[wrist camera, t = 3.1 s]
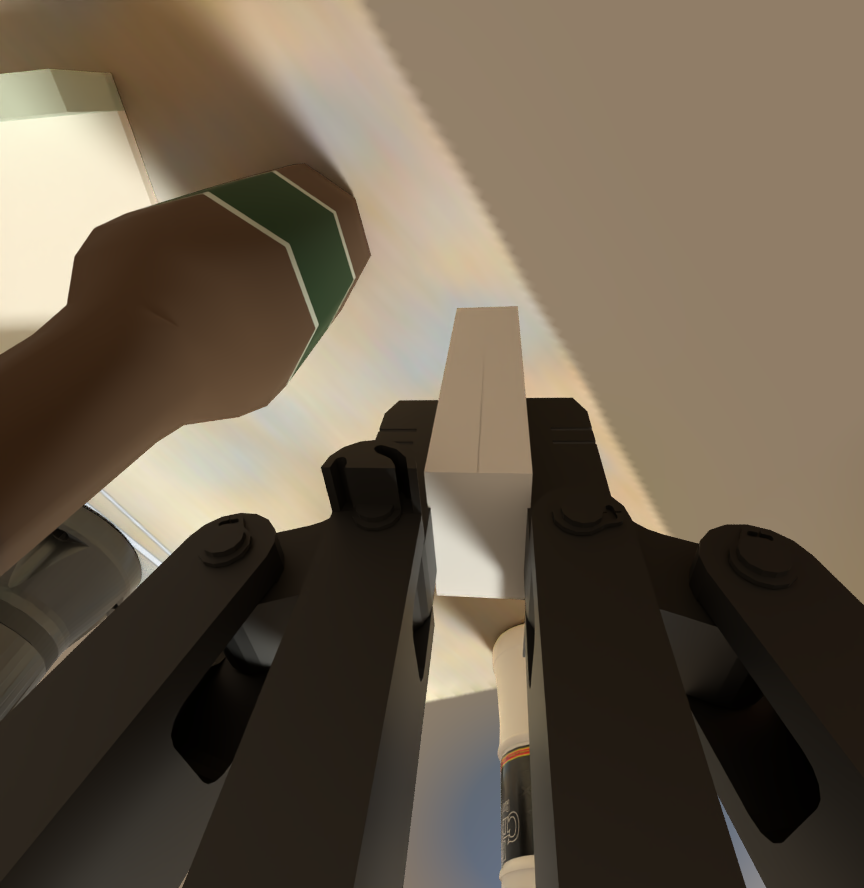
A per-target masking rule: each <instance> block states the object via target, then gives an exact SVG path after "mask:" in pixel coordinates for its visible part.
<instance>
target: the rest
mask: <svg viewBox="0 0 864 888" xmlns="http://www.w3.org/2000/svg"><path fill="white" fill-rule="evenodd" d="M155 204H158V202H157V199H156V196H155V194H154V191H153V188H152V185H151V182H150V180H149V177H148V174H147V171H146V169H145V166H144V163H143V160H142V157H141V155H140V152H139V149H138V146H137V143H136V141H135V138H134V135H133V132H132V130H131V127H130V124H129V121H128V118H127V116H126V113H125V110H124V107H123V105H122V102H121V99H120V96H119V93H118V91H117V88H116V85H115V82H114V80H113V77H112V74H111V73H102V72H89V71H75V70H62V69H41V70H32V71H23V72H14V73H5V74H0V354H2V353H4V352H5V351H7V350H8V349H10V348H12V347H13V346H15V345H17V344H18V343H20V342H21V341H23V340H25V339H26V338H28V337H30V336H31V335H33V334H34V333H35V332H36V331H37V330H38V329H40V328H41V327H42V326H43V325H44V324H45V323H46V322H48V321H49V320H50V319H51V318H52V317H53V316H54V315H56V314H57V313H58V312H59V311H60V310H61V309H62V308H64V307H65V306H66V305H67V299H68V293H69V287H70V281H71V274H72V268H73V262H74V256H75V255H76V253H77V252H78V251H79V249H80V248H81V246H82V245H83V243H84V242H85V240H86V239H87V237H88V236H89V235H90V233H91V232H92V230H93V229H94V228H95V227H97V226H100V225H102V224H104V223H106V222H108V221H110V220H112V219H115V218H117V217H119V216H121V215H123V214H125V213H128V212H131V211H135V210H138V209H141V208H145V207H148V206H151V205H155Z"/></svg>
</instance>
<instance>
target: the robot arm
mask: <svg viewBox="0 0 864 888" xmlns="http://www.w3.org/2000/svg"><path fill="white" fill-rule="evenodd" d="M321 469H322V473H323V477H324V481H325V485H326V489H327V492H328V496H329V500H330V504H331V508H332V514H331V517H330V518H329V519H327V520H325V521H323V522H320V523H317V524H314V525H310V526H306V527H302V528H297V529H292V530H288V531H283V532H278V533H276V531H275V529H274V527H273V526H272V524H271V523H270V521H269V520H268V519H266V518H264V517H262V516H260V515H257V514H248V513H238V514H234V515H229V516H224V517H221V518H219V519H217V520H214V521H212V522H210V523H208V524H206V525H204V526H203V527H201V528H200V529H199V530H197V531H196V532H195V533H193V534H192V535H191V536H190V537H189V538H188V539H186V540H185V541H184V542H183V543H182V544H181V545H180V546H179V547H178V548H177V549H176V550H175V551H174V552H173V553H172V554H171V555H170V556H169V557H168V558H167V559H166V560H165V561H164V562H163V563H162V564H161V565H160V566H159V567H158V568H157V569H156V570H155V571H154V572H153V573H152V574H151V575H150V576H149V577H148V578H147V579H146V580H145V581H144V582H143V583H141V584H140V585H139V583H140V581H141V575H142V572H141V566H140V562H139V559H138V557H137V555H136V553H135V552H134V550H133V549H132V547H131V546H130V544H129V543H128V542H127V541H126V540H125V538H124V537H123V536H122V535H121V534H120V533H119V532H118V531H117V530H116V529H114V528H113V527H112V526H111V525H110V524H108V523H107V522H106V521H104V520H103V519H102V518H100V517H99V516H97V515H96V514H94V513H93V512H91V511H89V510H88V509H86V508H84V507H81V508H80V509H78V510H77V511H76V512H75V513H74V514H73V515H71V516H70V517H69V518H68V519H67V520H66V521H64V522H63V523H62V524H61V525H60V526H59V527H58V528H56V529H55V530H54V531H53V532H52V533H51V534H49V535H48V536H47V537H46V538H45V539H44V540H42V541H41V542H40V543H39V544H38V545H37V546H35V547H34V548H33V549H32V550H31V551H30V552H28V553H27V554H26V555H25V556H24V557H23V558H21V559H20V560H19V561H18V562H17V563H16V564H14V565H13V566H12V567H11V568H10V569H9V570H7V571H6V572H5V573H4V574H3V575H2V576H1V577H0V888H179V886H180V884H181V883H182V881H183V879H184V878H185V876H186V874H187V873H188V875H187V877H186V880H185V882H184V884H183V887H182V888H403V884H404V875H405V867H406V859H407V850H408V842H409V833H410V826H411V817H412V809H413V800H414V792H415V784H416V775H417V767H418V759H419V750H420V741H421V734H422V724H423V717H424V709H425V700H426V692H427V684H428V675H429V667H430V659H431V650H432V642H433V633H434V615H433V606H432V605H433V597H434V589H435V582H436V592H437V595H441V596H461V597H482V598H502V599H523V600H525V608H526V610H525V626H524V641H523V657H525V658H526V681H527V704H528V726H529V749H530V772H531V794H532V817H533V840H534V863H535V885H536V888H746V886H745V882H744V879H743V876H742V873H741V870H740V866H739V863H738V860H737V857H736V854H735V850H734V847H733V844H732V841H731V838H730V834H729V831H728V828H727V825H726V822H725V818H724V815H723V812H722V809H721V805H720V802H719V799H718V797H719V798H720V800H721V802H722V804H723V806H724V808H725V810H726V812H727V814H728V815H729V817H730V819H731V821H732V823H733V825H734V827H735V829H736V831H737V833H738V835H739V837H740V839H741V840H742V842H743V844H744V846H745V848H746V850H747V852H748V854H749V856H750V858H751V859H752V861H753V863H754V865H755V867H756V869H757V871H758V873H759V874H760V877H761V878H762V880H763V882H764V884H765V886H766V888H864V605H863V604H862V603H861V602H860V601H859V600H858V599H857V598H856V597H855V596H854V595H853V594H852V593H851V592H850V591H849V590H848V589H847V588H846V587H845V586H843V584H842V583H841V582H839V581H838V580H837V579H836V578H835V577H834V576H833V575H832V574H831V573H830V572H829V571H828V570H827V569H826V568H825V567H824V566H823V565H822V564H821V563H820V562H819V561H818V560H817V559H816V558H815V557H814V556H813V555H812V554H810V553H809V552H807V551H806V550H805V549H804V548H802V547H801V546H799V545H798V544H797V543H796V542H794V541H793V540H791V539H788V538H786V537H784V536H782V535H780V534H778V533H776V532H773V531H771V530H768V529H763V528H760V527H755V526H751V525H724V526H720V527H717V528H714V529H711V530H709V531H708V533H707V534H706V535H705V536H704V537H703V538H702V539H701V540H700V543H699V544H698V543H694V542H690V541H686V540H682V539H678V538H674V537H671V536H667V535H663V534H660V533H657V532H654V531H651V530H648V529H646V528H644V527H642V526H640V525H639V524H637V523H635V522H633V521H632V519H631V517H630V516H629V514H628V512H627V511H626V509H625V507H624V506H623V505H622V504H620V503H619V502H618V501H617V500H615V499H614V498H613V497H611V494H610V491H609V487H608V483H607V480H606V476H605V473H604V469H603V466H602V462H601V459H600V455H599V452H598V448H597V444H595V437H594V434H593V431H592V427H591V423H590V420H589V416H588V412H587V411H586V410H585V409H584V408H583V407H582V406H581V405H580V404H579V403H578V402H577V401H575V400H574V399H573V398H526V394H525V383H524V372H523V360H522V349H521V338H520V327H519V316H518V306H510V307H478V308H457V311H456V316H455V321H454V326H453V331H452V336H451V341H450V346H449V351H448V356H447V361H446V366H445V371H444V375H443V380H442V385H441V390H440V395H439V400H409V401H398V402H397V403H396V404H395V405H394V406H393V407H392V408H391V409H390V410H388V411H387V412H386V413H385V415H384V418H383V421H382V423H381V426H380V432H378V434H377V437H376V440H371V441H362V442H358V443H355V444H352V445H349V446H346V447H343V448H342V449H340V450H339V451H337V452H336V453H334V454H332V455H331V456H330V457H329V458H328V459H327V460H326V462H325V463H324V464H323V465H322V467H321ZM138 585H139V586H138ZM107 616H108V617H107ZM106 617H107V618H106ZM105 618H106V619H105ZM104 619H105V620H104ZM103 620H104V621H103ZM102 621H103V622H102ZM101 622H102V623H101ZM99 623H101V624H100V625H99V626H98V627H96V626H97V625H98V624H99ZM95 627H96V629H94V630H93V632H91V634H89V635H88V636H87V637H86V638H85V639H84V640H83V641H82V642H81V643H80V644H79V645H78V646H77V647H76V648H75V649H74V650H73V651H72V652H71V653H70V654H69V655H68V656H67V657H66V658H65V659H64V660H63V661H62V662H61V663H60V664H59V665H58V666H57V667H56V668H55V669H54V670H53V671H51V673H49V674H48V675H47V677H45V678H44V679H43V680H42V681H41V682H40V680H41V679H42V678H43V677H44V675H45V674H46V672H47V671H48V670H49V668H50V667H51V666H52V665H53V663H54V662H55V661H56V660H57V658H58V657H59V656H60V655H61V654H62V652H64V651H65V650H66V649H67V648H68V647H70V646H71V645H72V644H73V643H75V642H76V641H78V640H79V639H80V638H82V637H83V636H84V635H86V634H87V633H88V632H89V631H90V630H92V629H93V628H95ZM39 682H40V683H39ZM38 683H39V684H38ZM37 684H38V685H37ZM717 795H718V796H717ZM188 871H189V872H188Z"/></svg>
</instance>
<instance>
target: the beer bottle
mask: <svg viewBox="0 0 864 888" xmlns="http://www.w3.org/2000/svg"><path fill="white" fill-rule="evenodd" d="M370 256H371V254H370V250H369V246H368V243H367V239H366V236H365V232H364V228H363V225H362V221H361V218H360V214H359V210H358V207H357V203H356V200H355V198H354V197H353V196H351V195H350V194H348V193H347V192H345V191H344V190H343V189H341V188H340V187H338V186H337V185H335V184H334V183H332V182H331V181H330V180H328V179H327V178H325V177H324V176H322V175H321V174H320V173H318V172H317V171H315V170H314V169H312V168H311V167H310V166H308V165H307V164H305V163H304V164H295V165H290V166H287V167H283V168H279V169H275V170H271V171H267V172H264V173H260V174H256V175H252V176H248V177H244V178H241V179H237V180H234V181H230V182H227V183H224V184H220V185H217V186H214V187H211V188H207V189H204V190H201V191H197V192H194V193H191V194H187V195H184V196H181V197H178V198H174V199H171V200H168V201H164V202H161V203H158V204H155V205H151V206H148V207H145V208H141V209H138V210H135V211H131V212H128V213H125V214H123V215H121V216H119V217H117V218H115V219H112V220H110V221H108V222H106V223H104V224H102V225H100V226H97V227H95V228H94V229H93V230H92V232H91V233H90V235H89V236H88V237H87V239H86V240H85V242H84V243H83V245H82V246H81V248H80V249H79V251H78V252H77V253H76V255H75V256H74V262H73V268H72V274H71V281H70V287H69V293H68V299H67V305H66V306H65V307H64V308H62V309H61V310H60V311H59V312H58V313H57V314H56V315H54V316H53V317H52V318H51V319H50V320H49V321H48V322H46V323H45V324H44V325H43V326H42V327H41V328H40V329H38V330H37V331H36V332H35V333H34V334H33V335H31V336H30V337H28V338H26V339H25V340H23V341H21V342H20V343H18V344H17V345H15V346H13V347H12V348H10V349H8V350H7V351H5V352H4V353H2V354H0V577H1V576H2V575H3V574H4V573H5V572H6V571H7V570H9V569H10V568H11V567H12V566H13V565H14V564H16V563H17V562H18V561H19V560H20V559H21V558H23V557H24V556H25V555H26V554H27V553H28V552H30V551H31V550H32V549H33V548H34V547H35V546H37V545H38V544H39V543H40V542H41V541H42V540H44V539H45V538H46V537H47V536H48V535H49V534H51V533H52V532H53V531H54V530H55V529H56V528H58V527H59V526H60V525H61V524H62V523H63V522H64V521H66V520H67V519H68V518H69V517H70V516H71V515H73V514H74V513H75V512H76V511H77V510H78V509H80V508H81V507H82V506H83V505H84V504H85V503H87V502H88V501H89V500H90V499H91V498H92V497H94V496H95V495H96V494H97V493H98V492H99V491H101V490H102V489H103V488H104V487H105V486H106V485H108V484H109V483H110V482H111V481H112V480H113V479H114V478H116V477H117V476H118V475H119V474H120V473H121V472H123V471H124V470H125V469H126V468H127V467H128V466H130V465H131V464H132V463H133V462H134V461H135V460H137V459H138V458H139V457H140V456H141V455H142V454H144V453H145V452H146V451H147V450H148V449H149V448H151V447H152V446H153V445H154V444H155V443H156V442H158V441H159V440H161V439H163V438H164V437H166V436H167V435H169V434H171V433H172V432H174V431H175V430H177V429H178V428H180V427H182V426H183V425H187V424H194V423H201V422H208V421H215V420H222V419H228V418H235V417H240V416H242V415H245V414H247V413H250V412H252V411H255V410H257V409H260V408H262V407H265V406H267V405H268V404H269V403H270V402H271V401H272V400H273V399H274V398H275V397H276V396H277V395H278V394H279V393H280V391H281V390H282V389H283V388H284V387H285V386H286V385H287V384H288V382H289V381H290V380H291V378H292V377H293V376H294V374H295V373H296V371H297V370H298V369H299V367H300V366H301V365H302V363H303V362H304V360H305V359H306V358H307V356H308V355H309V354H310V352H311V351H312V349H313V348H314V347H315V345H316V344H317V343H318V341H319V340H320V338H321V337H322V336H323V334H324V333H325V332H326V330H327V329H328V327H329V326H330V325H331V323H332V322H333V321H334V319H335V318H336V317H337V315H338V314H339V312H340V311H341V310H342V308H343V306H344V304H345V302H346V300H347V299H348V297H349V295H350V293H351V291H352V289H353V287H354V286H355V284H356V282H357V280H358V278H359V276H360V275H361V273H362V271H363V269H364V267H365V265H366V263H367V262H368V260H369V258H370Z"/></svg>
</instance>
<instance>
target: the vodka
mask: <svg viewBox="0 0 864 888" xmlns="http://www.w3.org/2000/svg"><path fill="white" fill-rule="evenodd" d="M524 626H525V624H521V625H518V626H515V627H513V628H510V629H508V630H507V631H505V632H504V633H503V634H501V635H500V637H499V638H498V639H497V641H496V643H495V645H494V648H493V671H494V674H495V676H496V682H497V692H498V703H499V716H500V746H499V748H498V757H499V760H500V762H501V764H500V765H501V766H500V767H501V768H500V772H501V858H502V859H501V861H502V869H501V871H500V875H499V879H500V880H501V881H502V888H536V885H535V863H534V840H533V817H532V794H531V772H530V749H529V726H528V704H527V681H526V658H525V657H523V641H524Z"/></svg>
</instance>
